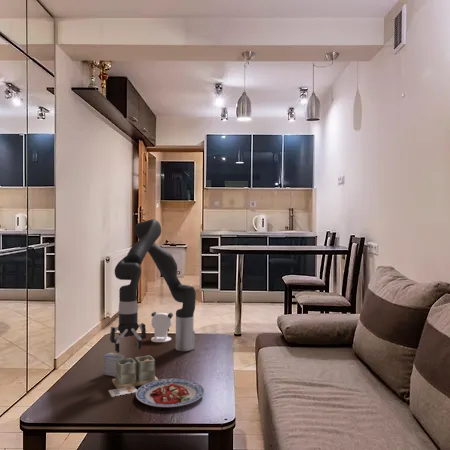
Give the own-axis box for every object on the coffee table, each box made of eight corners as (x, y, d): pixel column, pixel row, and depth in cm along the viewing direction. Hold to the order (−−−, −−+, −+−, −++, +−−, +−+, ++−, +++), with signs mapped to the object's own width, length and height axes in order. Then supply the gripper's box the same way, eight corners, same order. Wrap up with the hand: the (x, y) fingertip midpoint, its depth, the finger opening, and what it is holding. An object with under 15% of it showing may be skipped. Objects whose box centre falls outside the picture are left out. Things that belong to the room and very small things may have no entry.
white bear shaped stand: (174, 337, 240) (174, 311, 240) (169, 342, 229) (170, 315, 229) (153, 336, 241) (154, 310, 241) (148, 341, 230) (148, 314, 230)
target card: (133, 386, 167) (133, 385, 167) (137, 392, 162) (137, 391, 162) (108, 391, 163) (108, 390, 163) (111, 397, 157) (111, 395, 157)
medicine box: (124, 374, 181) (125, 354, 181) (118, 378, 177) (118, 357, 177) (110, 371, 184) (110, 352, 184) (103, 375, 180) (103, 354, 180)
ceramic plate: (124, 393, 161) (124, 386, 161) (182, 379, 177) (182, 372, 176) (155, 419, 140) (155, 410, 140) (217, 400, 156) (217, 392, 156)
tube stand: (152, 374, 180) (152, 354, 180) (158, 382, 172) (158, 360, 172) (112, 381, 173) (112, 359, 173) (117, 389, 165) (117, 366, 165)
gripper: (142, 307, 178) (142, 345, 178) (108, 311, 171) (108, 350, 171) (147, 311, 171) (147, 350, 171) (112, 315, 165) (112, 355, 165)
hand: (128, 350), depth 171 cm, fingers open, 8 cm apart
